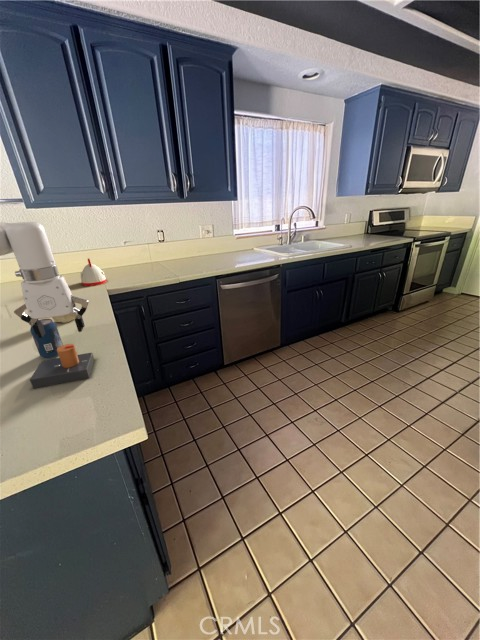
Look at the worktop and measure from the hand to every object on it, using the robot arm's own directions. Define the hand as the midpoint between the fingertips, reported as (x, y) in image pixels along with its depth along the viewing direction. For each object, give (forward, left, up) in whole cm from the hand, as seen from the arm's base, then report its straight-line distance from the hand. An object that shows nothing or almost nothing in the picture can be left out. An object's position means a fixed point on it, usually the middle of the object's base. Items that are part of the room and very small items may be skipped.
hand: (62, 332), depth 75 cm
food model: (-12, +44, -14) cm, 48 cm away
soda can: (-9, +14, -14) cm, 22 cm away
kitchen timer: (-9, +105, -14) cm, 106 cm away
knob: (0, 0, -10) cm, 10 cm away
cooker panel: (-2, 0, -13) cm, 14 cm away
